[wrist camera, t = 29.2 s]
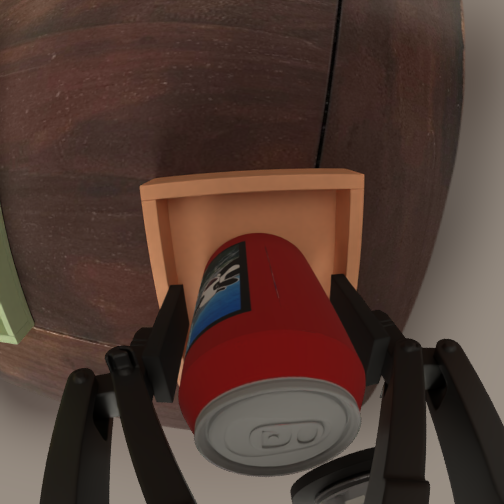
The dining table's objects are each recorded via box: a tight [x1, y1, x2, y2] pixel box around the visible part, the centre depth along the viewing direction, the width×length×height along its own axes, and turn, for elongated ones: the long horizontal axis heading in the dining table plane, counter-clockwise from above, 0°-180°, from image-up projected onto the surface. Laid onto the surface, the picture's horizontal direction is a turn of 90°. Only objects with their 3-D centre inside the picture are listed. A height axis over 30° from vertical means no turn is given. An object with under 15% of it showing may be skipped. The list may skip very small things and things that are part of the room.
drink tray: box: [140, 168, 364, 386], centre depth 19 cm, size 14×12×3 cm
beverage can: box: [178, 233, 366, 477], centre depth 14 cm, size 7×7×12 cm
